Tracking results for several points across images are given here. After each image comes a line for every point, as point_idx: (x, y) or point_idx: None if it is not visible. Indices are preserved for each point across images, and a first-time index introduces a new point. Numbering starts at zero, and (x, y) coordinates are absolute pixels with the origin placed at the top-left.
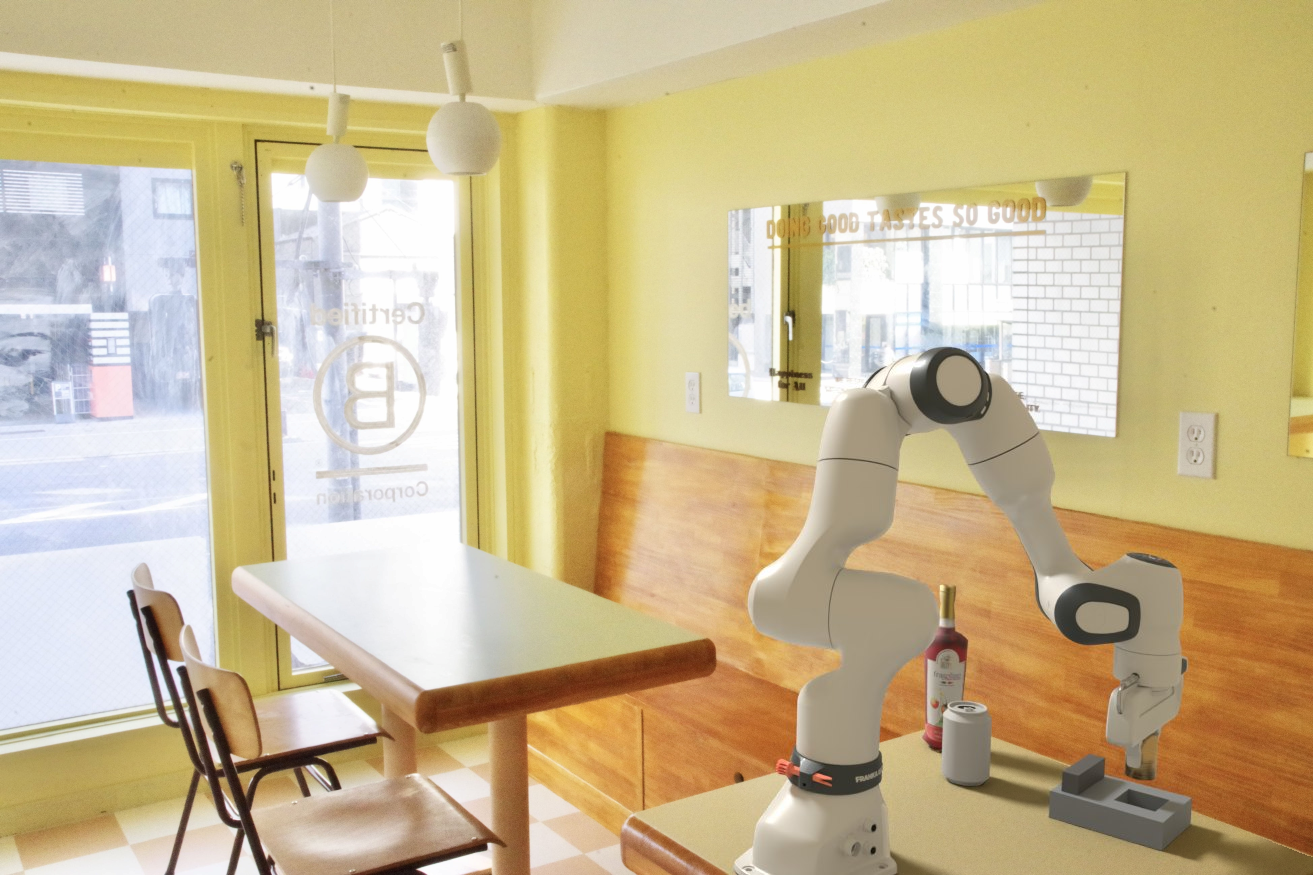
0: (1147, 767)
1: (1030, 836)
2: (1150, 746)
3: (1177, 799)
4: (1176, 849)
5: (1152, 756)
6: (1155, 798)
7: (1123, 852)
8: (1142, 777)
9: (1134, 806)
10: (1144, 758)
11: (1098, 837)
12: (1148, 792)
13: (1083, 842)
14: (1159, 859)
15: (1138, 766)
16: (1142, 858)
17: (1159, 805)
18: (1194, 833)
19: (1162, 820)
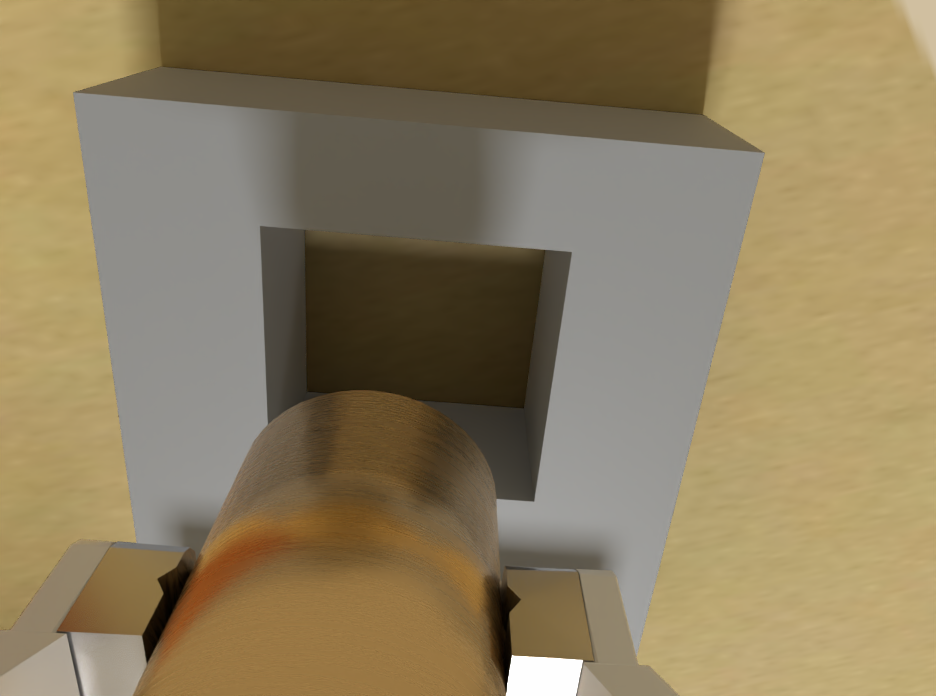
0: (470, 509)
1: (857, 630)
2: (445, 693)
3: (206, 178)
4: (627, 42)
5: (422, 564)
6: (268, 313)
7: (838, 280)
8: (484, 474)
9: (563, 381)
10: (485, 603)
11: (704, 423)
12: (232, 374)
13: (808, 458)
14: (841, 92)
15: (615, 580)
16: (874, 177)
17: (275, 270)
18: (287, 7)
19: (722, 165)
